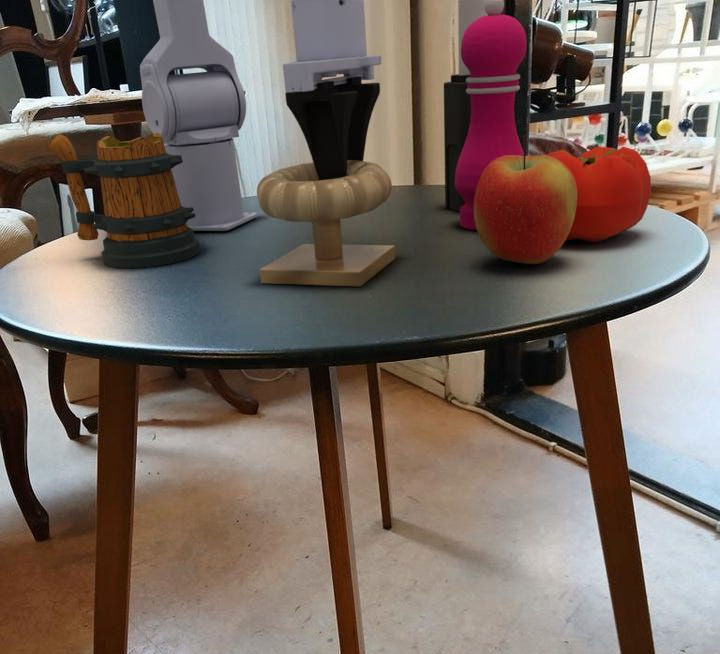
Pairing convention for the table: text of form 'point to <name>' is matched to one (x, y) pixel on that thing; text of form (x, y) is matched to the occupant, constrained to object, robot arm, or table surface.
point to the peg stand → (328, 260)
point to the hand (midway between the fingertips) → (340, 179)
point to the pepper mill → (489, 98)
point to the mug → (131, 201)
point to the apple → (525, 207)
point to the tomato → (607, 191)
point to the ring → (323, 192)
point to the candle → (458, 106)
